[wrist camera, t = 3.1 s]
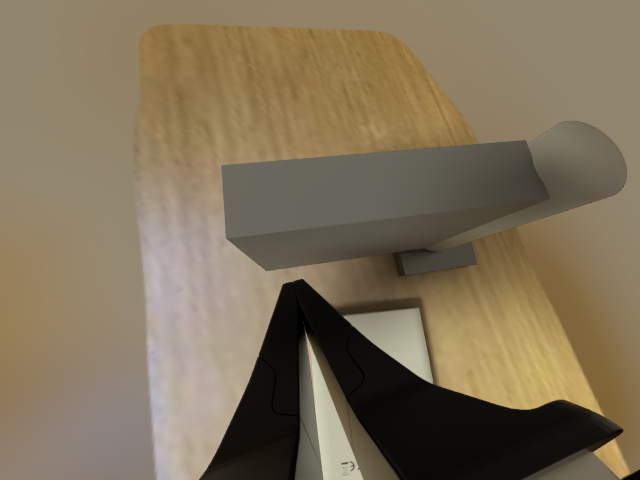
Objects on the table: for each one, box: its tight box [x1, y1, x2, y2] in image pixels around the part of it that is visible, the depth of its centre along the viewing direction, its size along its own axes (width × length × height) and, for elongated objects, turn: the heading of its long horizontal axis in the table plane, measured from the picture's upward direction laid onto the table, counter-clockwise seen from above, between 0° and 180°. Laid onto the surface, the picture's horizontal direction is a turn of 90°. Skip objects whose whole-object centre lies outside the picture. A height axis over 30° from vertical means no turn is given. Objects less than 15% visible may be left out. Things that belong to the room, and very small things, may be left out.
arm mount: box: [394, 242, 477, 277], centre depth 18 cm, size 6×6×1 cm
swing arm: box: [222, 121, 627, 271], centre depth 12 cm, size 3×15×10 cm, turn 99°
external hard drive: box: [310, 307, 433, 480], centre depth 15 cm, size 2×8×12 cm
